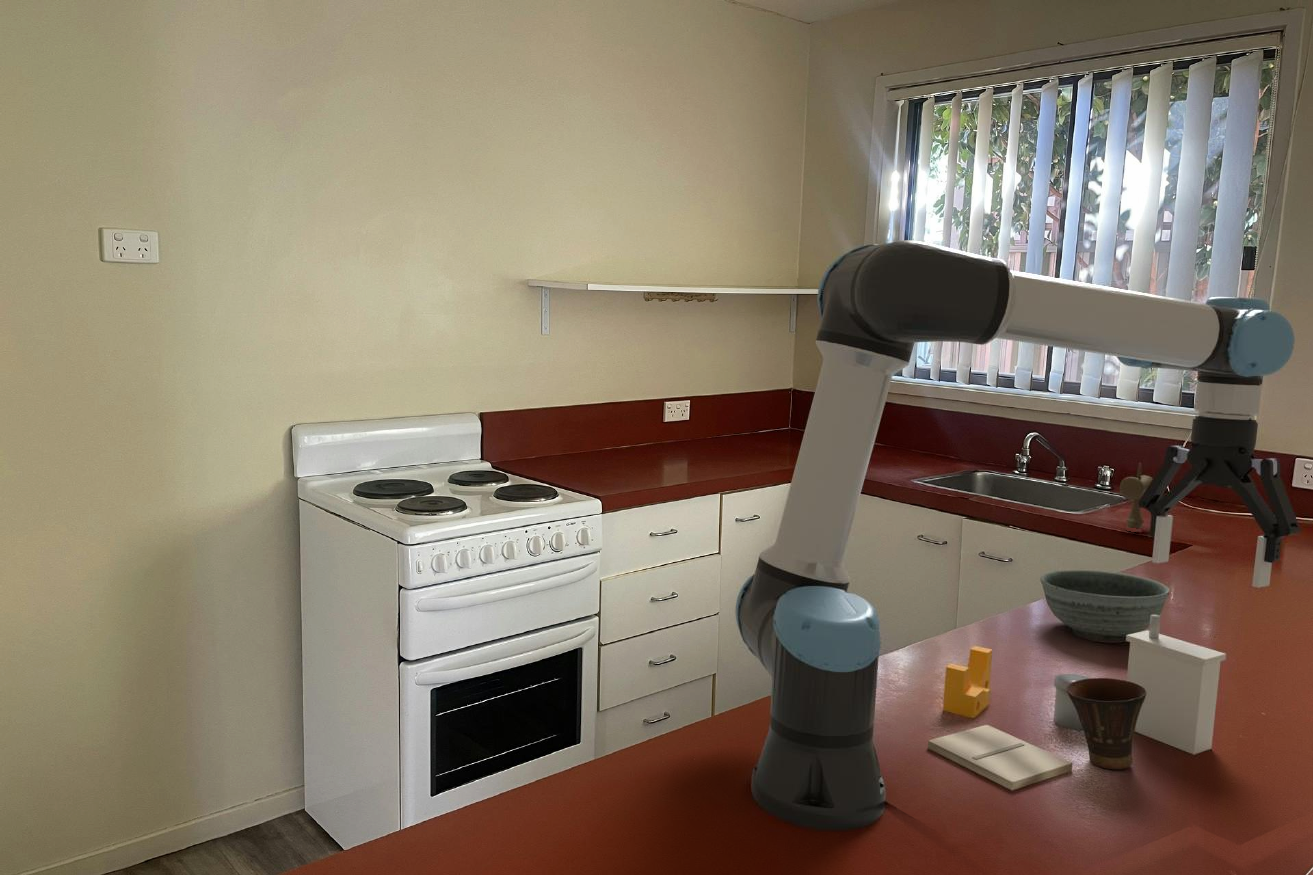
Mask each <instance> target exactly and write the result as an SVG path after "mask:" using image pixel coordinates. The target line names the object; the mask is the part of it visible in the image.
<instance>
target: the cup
mask: <svg viewBox="0 0 1313 875" xmlns="http://www.w3.org/2000/svg"><path fill="white" fill-rule="evenodd" d="M1066 690H1067V693H1068V695H1069V697H1070V699H1071V701H1072V703H1073V705H1074V706H1075V709H1076V711H1077V714H1078V717H1079V720H1080V723H1081V726H1082V729H1083V730H1082V731H1083V735H1084V738H1085V741H1086V746H1087V750H1088V758H1089V761H1090V763H1092V765H1094V766H1095V767H1099V768H1102V769H1103V768H1104V769H1108V770H1121V769H1122V770H1123V769H1127V768H1129V767H1130V766H1131V765H1132V764H1133V742H1134V735H1135V727H1136V723H1137V719H1138V716H1139V712H1140V709H1141V707H1142V704H1143V702H1144V700H1145V697H1146V690H1145V689H1144V688H1143V687H1142V686H1140V685H1138V684H1135V683H1133V682H1130V681H1127V680H1124V679H1119V678H1113V677H1111V678H1109V677H1097V678H1096V677H1091V678H1090V679H1083V680H1078V681H1075V682H1072V683H1070V684H1069V685H1068V686H1067V687H1066Z"/></svg>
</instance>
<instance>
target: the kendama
mask: <svg viewBox="0 0 1313 875" xmlns="http://www.w3.org/2000/svg"><path fill="white" fill-rule="evenodd" d="M1142 464H1143V463H1141V462H1139V464H1138V467H1137V474H1136V477H1135V476H1126V477H1124V478H1123V479H1122V480H1121V482H1120V483H1119V484H1120V485H1119V492H1120V495H1121V496H1122V497H1123V499H1125V500H1129V501H1132V505H1131V509H1130V511H1129V512H1130V513H1129V515H1128V517H1127V518H1126V519H1125V522H1126V528H1127V527H1129V528H1136V529H1140V528H1142V529H1143V525H1144V524H1145V520H1143V517H1142V508H1141V507H1140V506H1139V505H1138V503H1139V500H1140V499H1141V497H1142V496H1143V494H1144V492H1145V491H1146V489H1147V488H1148V486H1149V485H1150V483H1151V481H1152V480H1153V478H1154V477H1151V476H1150V475H1145V474H1143V475H1142V472H1143V470H1142V469H1143V465H1142Z"/></svg>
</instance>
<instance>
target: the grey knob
mask: <svg viewBox="0 0 1313 875" xmlns="http://www.w3.org/2000/svg"><path fill="white" fill-rule="evenodd" d="M1090 678H1092V677H1090V676H1087V675H1083V674H1078V673H1071V672H1069V673H1068V672H1064V673H1057V674H1055V676H1054V678H1053V679H1054V680H1053V687H1055V694H1054V696H1055V698H1054V711H1053V712H1054V713H1053V721H1054V723H1055V724H1057V725H1059V726H1060V727H1062V728H1063V727H1064V728H1066V729H1070V730H1077V731H1083V729H1082V726H1081V723H1080V720H1079V717H1078V714H1077V711H1076V709H1075V706H1074V705H1073V703H1072V701H1071V699H1070V697H1069V695H1068V693H1067V690H1066V687H1067V686H1068V685H1069V684H1070V683H1072V682H1075V681H1078V680H1083V679H1090Z"/></svg>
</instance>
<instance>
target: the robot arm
mask: <svg viewBox="0 0 1313 875" xmlns="http://www.w3.org/2000/svg"><path fill="white" fill-rule="evenodd" d="M817 307H818V312H819V314H820V317H821V320H820V324H819V327H818V332H817V336H816V339H815V345H816V346H817V349H818V350H819V352H820V354H821V355H822V359H823V362H822V365H821V369H820V372H819V375H818V376H819V377H818V380H817V385H816V388H815V391H814V395H813V399H812V403H811V407H810V409H809V413H808V418H807V422H806V426H805V430H804V433H803V437H802V441H801V445H800V449H799V452H798V454H797V455H798V456H797V460H796V462H795V468H794V471H793V474H792V479H791V482H790V486H789V491H788V492H787V497H786V501H785V505H784V509H783V513H782V517H781V521H780V523H779V527H778V532H777V536H776V540H775V542H774V544H773V545H771V546H769V547H768V548H766V549H764V550H763V551H761V552H760V553H759V556H758V561H757V563H756V564H757V565H756V567H755V570H754V574H752V575H751V576H750V577H748V578H747V579H746V580H745V582H744V584H743V585H742V586H741V589H740V591H739V592H738V596H737V598H736V603H735V610H734V612H735V620H736V621H735V622H736V624H737V627H738V631H739V634H740V637H741V638H742V641H743V643H744V644H745V645H746V646H747V649H748V651H750V653H752V655H753V656H754V657H756V658H757V660H759V662H760V664H762V666H763V667H764V669H765V670H766V672H768V673H769V676H771V692H770V696H771V697H770V711H769V712H770V714H769V729H768V733H767V736H766V737H765V741H764V744H763V746H762V750H761V753H760V756H759V759H758V761H757V762H756V764H755V765H754V768H753V769H752V770H753V771H752V774H751V785H750V787H751V790H750V791H751V795H752V797H753V799H754V801H756V803H757V804H758V806H760V808H761V809H763V810H764V811H766V812H767V813H769V814H771V816H773V817H775V818H777V819H779V820H782V821H784V822H787V823H789V824H791V825H795V826H799V827H802V828H807V829H812V830H817V831H831V832H832V831H833V832H839V831H841V832H842V831H843V832H845V831H850V830H858V829H861V828H865V827H868V826H870V825H871V824H874V823H876V822H877V821H878V820H880V818H881V817H882V816H883V814H884V811H885V806H886V794H887V793H886V790H887V789H886V785H885V780H884V779H883V777H882V774H881V766H880V761H879V757H878V755H877V750H876V747H875V743H874V728H875V716H876V715H875V714H876V700H877V687H878V686H877V685H878V672H879V658H880V657H879V656H880V650H881V644H882V638H881V632H880V618H879V615H878V613H877V610H876V609H875V607H874V606H873V604H871V603H870V602H869V601H867V599H865V598H863V597H861V596H859V595H857V594H855V593H854V592H853V593H851V592H850V593H848V589H849V585H850V581H851V577H850V575H849V573H848V572H847V570H846V568H845V567H844V563H843V559H844V557H845V556H844V555H845V552H846V548H847V545H848V541H849V537H850V533H851V530H852V527H853V522H854V518H855V516H856V515H855V514H856V511H857V508H858V505H859V504H858V503H859V501H860V497H861V494H862V493H861V492H862V490H863V486H864V481H865V480H866V479H865V478H866V475H867V472H868V467H869V464H870V461H871V460H870V459H871V456H872V452H873V450H874V446H875V442H876V438H877V434H878V431H879V427H880V423H881V419H882V415H883V412H884V409H885V405H886V402H887V398H888V394H889V389H890V386H891V382H892V379H893V376H894V375H896V374H897V373H898V372H900V371H901V370H903V369H905V368H907V367H908V366H909V364H910V361H911V357H912V355H913V354H912V353H913V351H914V346H915V343H929V342H930V343H931V342H935V343H937V342H944V343H945V342H947V343H948V342H949V343H950V342H951V343H954V342H955V343H966V344H973V345H981V346H983V345H987V344H989V343H991V342H992V341H994V339H999V340H1000V339H1001V340H1008V341H1013V342H1014V341H1015V342H1020V343H1027V344H1032V345H1033V344H1034V345H1042V346H1047V347H1053V348H1060V349H1066V350H1073V351H1078V352H1084V353H1085V352H1086V353H1093V354H1098V355H1099V354H1100V355H1106V356H1112V357H1116V358H1117V360H1118V361H1119V362H1120V363H1121V364H1123V365H1124V366H1126V367H1127V366H1128V367H1134V368H1141V369H1149V368H1150V369H1165V370H1166V369H1167V370H1168V369H1169V370H1170V369H1171V370H1177V371H1178V370H1179V371H1188V372H1189V371H1191V372H1192V371H1193V372H1197V375H1196V376H1197V378H1196V388H1195V397H1194V404H1193V409H1194V411H1195V412H1198V414H1197V415H1194V417H1193V418H1192V426H1191V436H1190V440H1191V447H1190V448H1189V449H1188V448H1185V446H1183V445H1169V446H1168V447H1167V448H1166V451H1165V456H1164V461H1163V462H1162V464H1161V466H1160V467H1159V469H1158V470H1157V472H1156V473H1155V475H1154V476H1153V477H1152V478H1153V480H1152V481H1151V483H1150V485H1149V486H1148V488H1147V489H1146V491H1145V492H1144V494H1143V496H1141V497H1140V500H1139V503H1138V505H1139V506H1140V507H1141V509H1145V510H1146V511H1149V513H1150V517H1151V518H1150V525H1149V536H1150V537H1151V538H1154V539H1153V540H1154V541H1153V547H1152V548H1153V549H1152V550H1153V551H1152V558H1151V563H1154V564H1160V563H1161V564H1162V563H1167V562H1169V557H1170V550H1171V549H1170V548H1171V539H1172V531H1173V530H1172V529H1173V519H1174V516H1173V515H1171V514H1170V511H1171V510H1172V509H1173V508H1174V507H1176V505H1177V504H1178V503H1179V502H1181V501H1182V500H1183V499H1184V498H1185V497H1186V496H1187V495H1188V494H1189V493H1190V492H1192V491H1193V490H1194V489H1195V488H1196V487H1197V486H1199V485H1201V484H1202V485H1206V486H1210V485H1214V486H1218V487H1220V488H1225V489H1226V488H1227V489H1228V488H1232V490H1233V491H1234V493H1236V494H1238V496H1239V497H1240V499H1241V500H1242V502H1243V504H1244V505H1245V506H1246V508H1247V510H1248V511H1249V512H1250V514H1251V515H1252V517H1253V518H1254V520H1255V521H1256V523H1257V524H1258V526H1259V528H1260V529H1261V530H1262V532H1263V534H1264V535H1258V536H1257V542H1256V551H1255V552H1256V553H1255V559H1254V568H1253V576H1252V587H1254V588H1258V589H1259V588H1263V587H1269V586H1270V584H1271V576H1272V574H1271V573H1272V567H1273V563H1275V564H1276V563H1278V562H1279V560H1280V559H1281V552H1282V551H1281V549H1282V542H1283V539H1284V538H1285V537H1288V536H1294V535H1299V534H1300V532H1301V527H1300V524H1299V523H1298V520H1297V516H1296V513H1295V512H1294V509H1293V506H1292V504H1291V500H1290V498H1289V496H1288V494H1287V490H1286V488H1285V485H1284V482H1283V480H1282V478H1281V461H1280V459H1278V458H1276V457H1273V458H1263V459H1261V458H1258V459H1257V458H1256V457H1255V449H1256V448H1255V447H1256V445H1257V439H1258V438H1257V435H1258V426H1259V422H1258V421H1257V420H1256V419H1254V416H1255V417H1257V415H1259V414H1260V408H1261V399H1262V389H1263V381H1264V376H1270V375H1273V374H1275V373H1276V372H1279V371H1281V370H1282V368H1284V367H1285V366H1286V364H1288V362H1289V361H1290V360H1291V357H1292V355H1293V350H1294V345H1295V342H1296V341H1295V333H1294V329H1293V327H1292V324H1291V323H1290V321H1289V320H1288V319H1287V318H1286V317H1285V316H1284V315H1282V314H1281V313H1279V312H1277V311H1275V310H1271V309H1270V308H1271V307H1270V304H1269V302H1268V301H1267V300H1266V299H1263V298H1258V297H1240V296H1239V297H1236V296H1235V297H1234V296H1232V297H1231V296H1215V297H1214V296H1213V297H1209V298H1208V299H1207V300H1206V301H1205V302H1204V303H1203V302H1198V301H1192V300H1187V299H1180V298H1174V297H1169V296H1162V295H1158V294H1157V295H1156V294H1151V293H1146V292H1145V293H1143V292H1139V291H1135V290H1128V289H1127V290H1126V289H1121V288H1115V287H1110V286H1105V285H1097V284H1094V283H1093V284H1092V283H1087V282H1086V283H1085V282H1081V281H1075V280H1068V279H1063V278H1056V277H1052V276H1051V277H1050V276H1045V275H1039V274H1033V273H1027V272H1021V271H1015V270H1010V267H1009V265H1008V264H1007V263H1006V261H1004V260H1003V259H1001V258H996V257H989V256H984V255H980V254H975V253H970V252H966V251H962V250H960V249H959V250H958V249H955V248H950V247H946V246H943V245H939V244H934V243H931V242H926V241H920V240H909V239H906V240H905V239H904V240H897V241H896V240H895V241H893V242H889V243H888V242H887V243H881V244H877V243H876V244H875V243H874V244H866V245H861V246H858V247H854V248H853V249H851V250H849V251H847V252H846V253H844V254H842V255H841V256H839V257H837V258H836V259H835V260H834V261H833V262H832V263H831V264H829V266H828V268H827V269H826V270H825V272H824V274H823V275H822V277H821V280H820V283H819V284H818V290H817ZM1186 461H1188V463H1189V464H1190V467H1191V468H1190V469H1189V470H1188V471H1187V472H1186V473H1185V474H1184V475H1183V476H1182V477H1181V479H1180V480H1179V481H1178V482H1177V483H1176V484H1174V486H1172V487H1171V488H1170V489H1169V490H1168V491H1167V492H1166V493H1165V491H1166V490H1167V488H1168V487H1169V485H1170V484H1171V482H1172V480H1173V479H1174V478H1175V476H1176V475H1177V473H1178V472H1179V470H1180V468H1181V467H1182V464H1183V463H1185V462H1186ZM1254 469H1255V471H1256V473H1257V475H1258V476H1260V481H1261V483H1262V486H1263V489H1264V492H1265V495H1266V497H1267V499H1268V502H1269V505H1270V507H1269V505H1268V503H1267V502H1266V501H1265V499H1264V498H1263V496H1262V495H1261V493H1260V492H1259V491H1258V489H1257V485H1256V483H1255V481H1254V480H1253V479H1252V477H1251V475H1250V474H1251V473H1252V471H1253V470H1254ZM1164 493H1165V494H1164Z"/></svg>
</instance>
